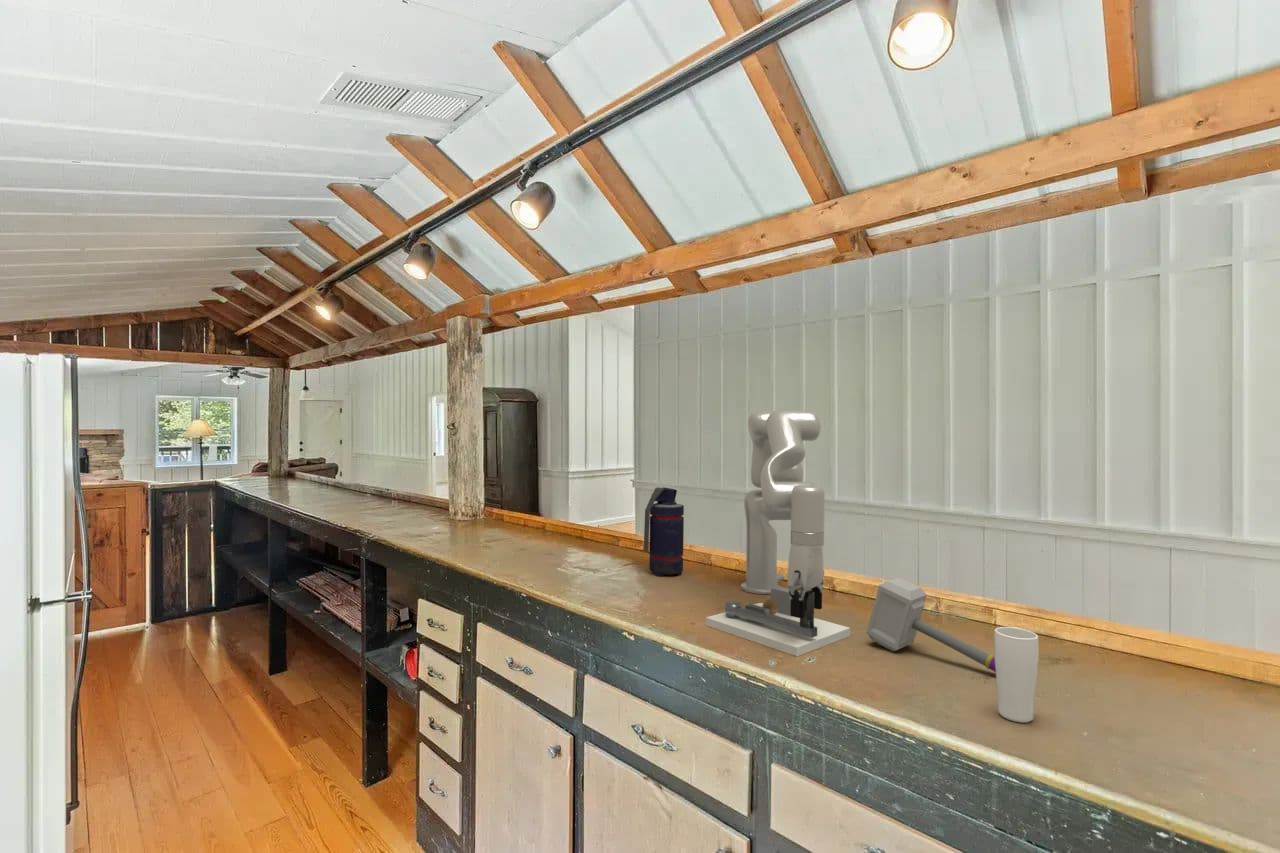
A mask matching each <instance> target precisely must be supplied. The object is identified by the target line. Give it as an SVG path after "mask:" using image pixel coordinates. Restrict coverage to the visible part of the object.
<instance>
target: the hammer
mask: <svg viewBox="0 0 1280 853" xmlns="http://www.w3.org/2000/svg"><path fill="white" fill-rule="evenodd" d="M877 588H878V589H877V592H876V596H875V599H874V604H873V607H872V611H871V615H870V618H869V620H868V621H869V623H868V625H867V629H866V632H865V633H866V635H867V636H868V637H869V638H870V639H871V640H872V641H874V642H875V643H877V644H878V645H880V646H882V647H884V648H885V649H887V650H888V651H891V652H896V651H898V650H900V649H903V648H905V647H907V646H909V645H911V644H913V643H914V640H915V638H916V636H917V632H920V633H922V634H924V635H926V636H928V637H929V638H932V639H933V640H936V641H938V642H939V643H941V644H943V645H944V646H946V647H949V648H951V649H953V650H955V651H956V652H958V653H960V654H961V655H964V656H965V657H968V658H970V659H971V660H973V661H974V662H977V663H979V664H980V665H982V666H984V667H985V668H986V669H987V670H990V671H993V672H994V673H996V668H995V656H994V654H989V653H987V652H985V651H983V650H981V649H979V648H977V647H975V646H973V645H970V644H969V643H967V642H964V641H963V640H960V639H958V638H956V637H954V636H952V635H950V634H948V633H946V632H944V631H942V630H940V629H938V628H937V627H934V626H932V625H930V624H928V623H926V622H925V621H923V620H921V618H922V614H923V611H924V608H925V603H926V602H925V601H926V599H927V593H926V592H925V591H924V590H923V589H922V588H921V587H920V586H918V585H916V584H913V583H912V582H909V581H908V580H905V579H903V578H901V577H898V578H894V579H890V580H886V582H884V583H881V584H879V585H878V587H877Z"/></svg>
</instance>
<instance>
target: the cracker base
mask: <svg viewBox="0 0 1280 853" xmlns="http://www.w3.org/2000/svg"><path fill="white" fill-rule="evenodd" d="M770 599H772V600H774V601H776V603H777V604H778V611H777V613H776V614H774V615H776V616H779V617H783V618H787V619H790V620H794V621H797V622H800V618H797V617H792V616H791V599H790V594H789V588H785V587H782V586H781V587H774V588H771V594H770ZM763 603H764V602H758V603H754V604H753V605H757V606H761V607H763ZM705 626H707V627H710V628H713V629H716V630H719V631H722V632H724V633H728V634H730V635H733V636H736V637H739V638H741V639H744V640H745V639H746V640H748V641H751V642H753V643H756V644H760V645H763V646H765V647H769V648H771V649H774V650H777V651H779V652H783V653H786V654H789V655H791V656H793V657H794V656H795V657H800V656H802V655H804V654H805V655H806V654H807V653H809V652H812V651H815V650H817V649H820V648H823V647H825V646H828V645H830V644H833V643H836V642H838V641H841V640H843V639H846V638H849V637H851V627H848V626H845V625H841V624H838V623H833V622H830V621H828V620H823V619H819V618H816V617H814V626H815V627H817V636H815V637H813V638H810V637H806V636H803V635H800V634H796V633H793V632H790V631H786V630H783V629H780V628H776V627H773V626H769V625H766V624H763V623H759V622H756V621H753V620H749V619H746V618H742V617H729V616H726V615H725V612H721V613H718V614H714V615H710V616H706V617H705Z"/></svg>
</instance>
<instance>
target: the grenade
mask: <svg viewBox="0 0 1280 853" xmlns="http://www.w3.org/2000/svg"><path fill="white" fill-rule="evenodd" d="M677 492H678V490H677V489H675V488H668V487H659V486H658V487H655V488H654V490H653V492H652V493H651V494H650V495H651V496H650V498H649V500H648V503H647V505H646V508H645V509H644V528H643V550H644V551H645V552H646V553H649V567H648V568H649V571H650V572H651V573H655V574H656V576H657V577H662V578H663V577H664V576H665V575H677V576H681V575H682V572H683V571H684V557H683V556H684V537H685V536H684V533H685V530H684V525H685V524H684V523H685V521H684V520H685V519H684V514H685V512H684V510H685V509H684V507H685V506H684V505H683V504H680V503H677V502H676V496H677Z"/></svg>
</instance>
